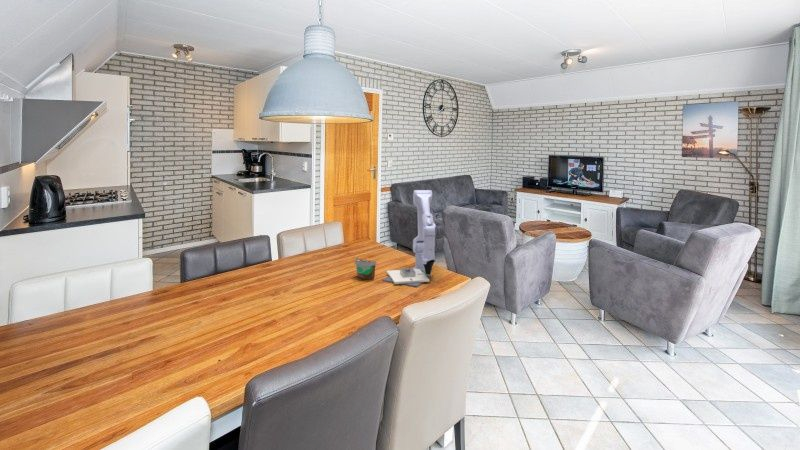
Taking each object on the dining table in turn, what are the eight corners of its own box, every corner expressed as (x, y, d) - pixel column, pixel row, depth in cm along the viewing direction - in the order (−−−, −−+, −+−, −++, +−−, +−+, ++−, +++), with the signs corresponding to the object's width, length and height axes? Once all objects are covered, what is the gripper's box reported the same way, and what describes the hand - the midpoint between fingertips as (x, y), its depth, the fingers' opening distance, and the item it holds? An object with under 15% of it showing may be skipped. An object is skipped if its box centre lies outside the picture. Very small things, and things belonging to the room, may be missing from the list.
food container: (350, 278, 211) (349, 259, 209) (356, 275, 216) (356, 256, 214) (370, 282, 206) (370, 263, 203) (376, 279, 211) (376, 260, 209)
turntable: (386, 272, 218) (386, 266, 218) (424, 270, 224) (424, 263, 223) (394, 284, 201) (394, 277, 201) (435, 281, 207) (435, 274, 206)
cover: (400, 273, 214) (400, 267, 213) (411, 272, 216) (412, 266, 215) (403, 277, 208) (403, 270, 207) (415, 276, 210) (415, 270, 209)
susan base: (398, 270, 225) (398, 269, 225) (431, 276, 217) (431, 274, 217) (382, 281, 208) (382, 279, 208) (416, 287, 200) (416, 286, 200)
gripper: (425, 244, 217) (425, 268, 220) (416, 250, 204) (416, 276, 206) (438, 245, 214) (437, 270, 217) (430, 252, 201) (429, 278, 204)
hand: (428, 273), depth 211 cm, fingers closed
